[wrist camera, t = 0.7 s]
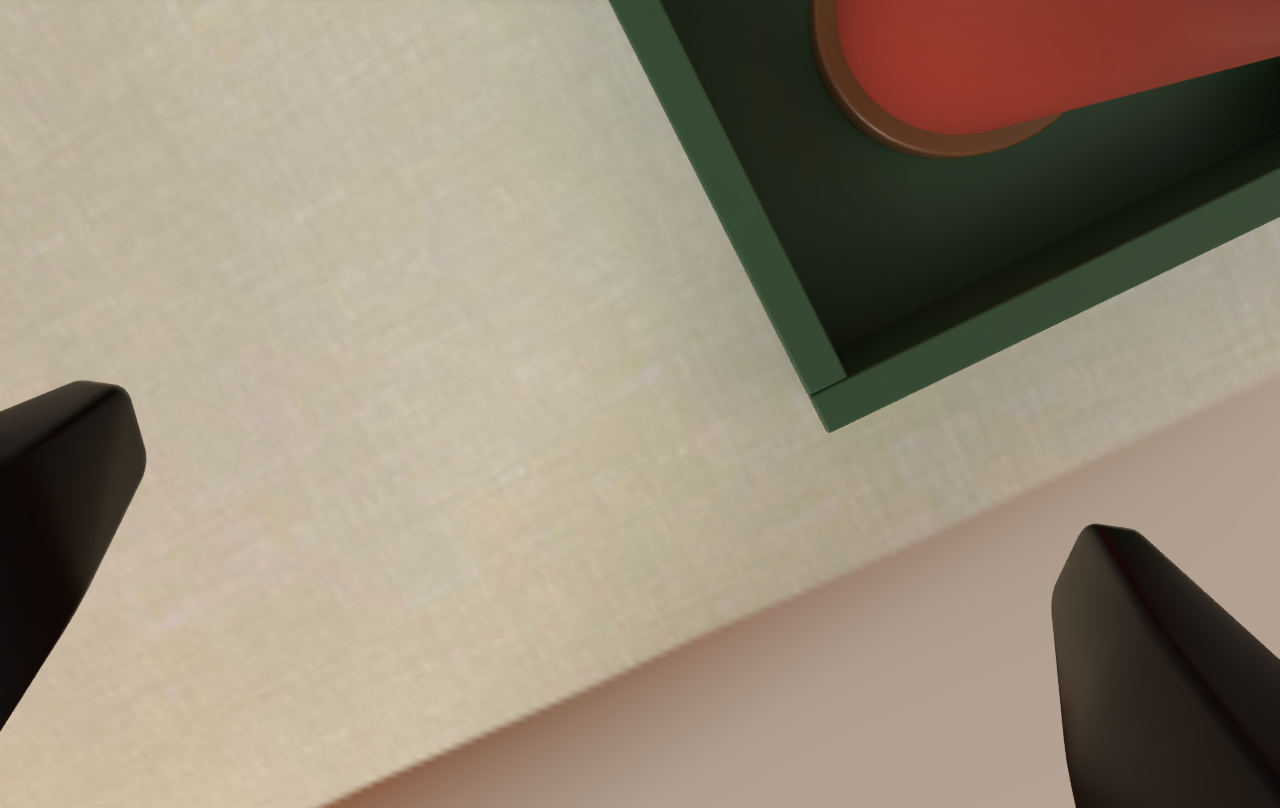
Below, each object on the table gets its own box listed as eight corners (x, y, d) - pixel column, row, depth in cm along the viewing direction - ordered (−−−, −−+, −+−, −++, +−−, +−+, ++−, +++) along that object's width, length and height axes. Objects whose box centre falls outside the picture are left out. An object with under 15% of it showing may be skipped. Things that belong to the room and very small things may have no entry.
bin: (1335, 140, 20) (1469, 126, 16) (810, 396, 22) (828, 434, 18) (1105, -435, 18) (1200, -590, 14) (558, -103, 20) (524, -168, 16)
